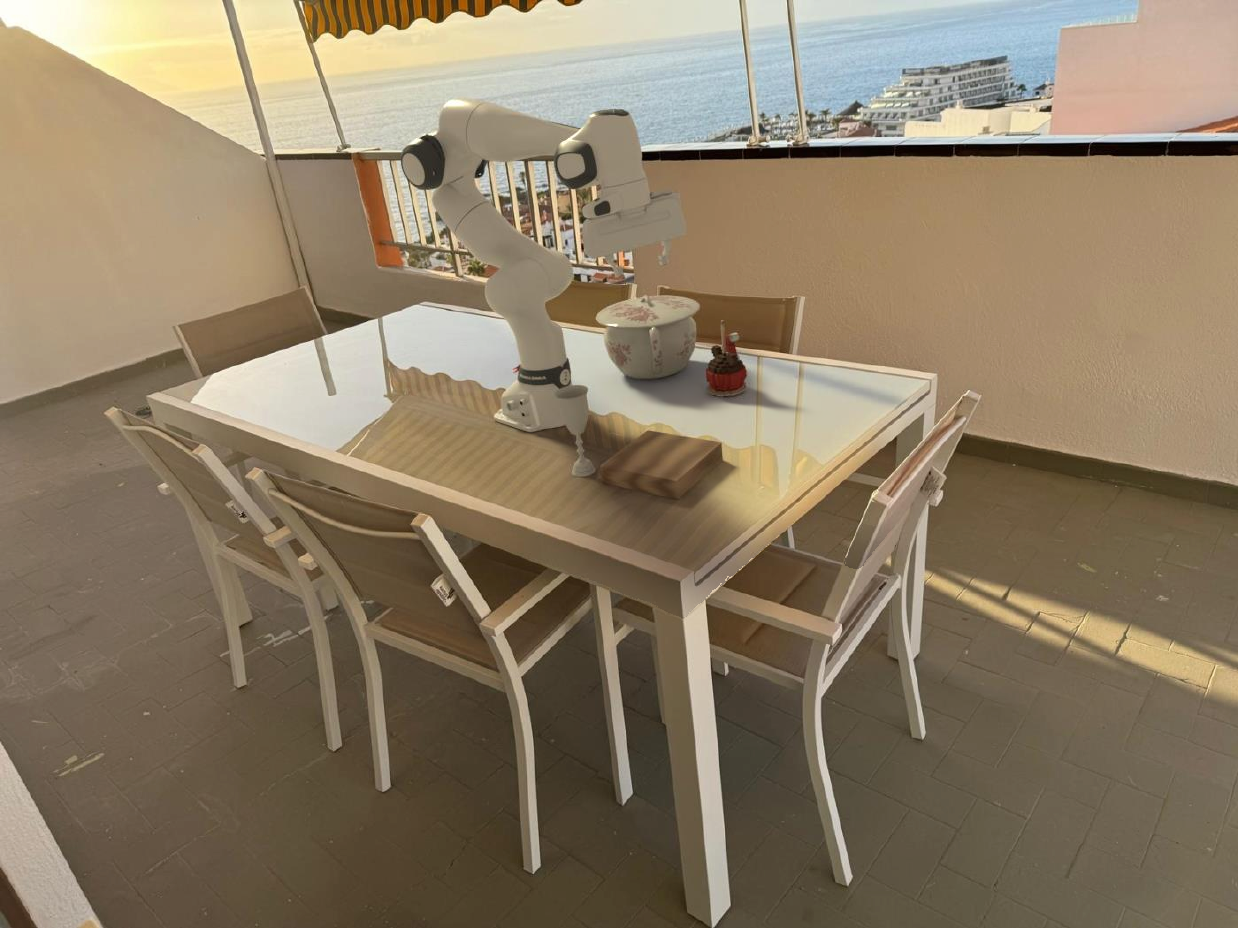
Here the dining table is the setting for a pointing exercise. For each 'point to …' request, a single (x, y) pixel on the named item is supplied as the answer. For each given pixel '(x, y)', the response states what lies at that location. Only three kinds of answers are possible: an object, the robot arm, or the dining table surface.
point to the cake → (726, 367)
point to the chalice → (576, 422)
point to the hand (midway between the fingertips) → (642, 270)
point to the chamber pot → (650, 335)
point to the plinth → (662, 464)
